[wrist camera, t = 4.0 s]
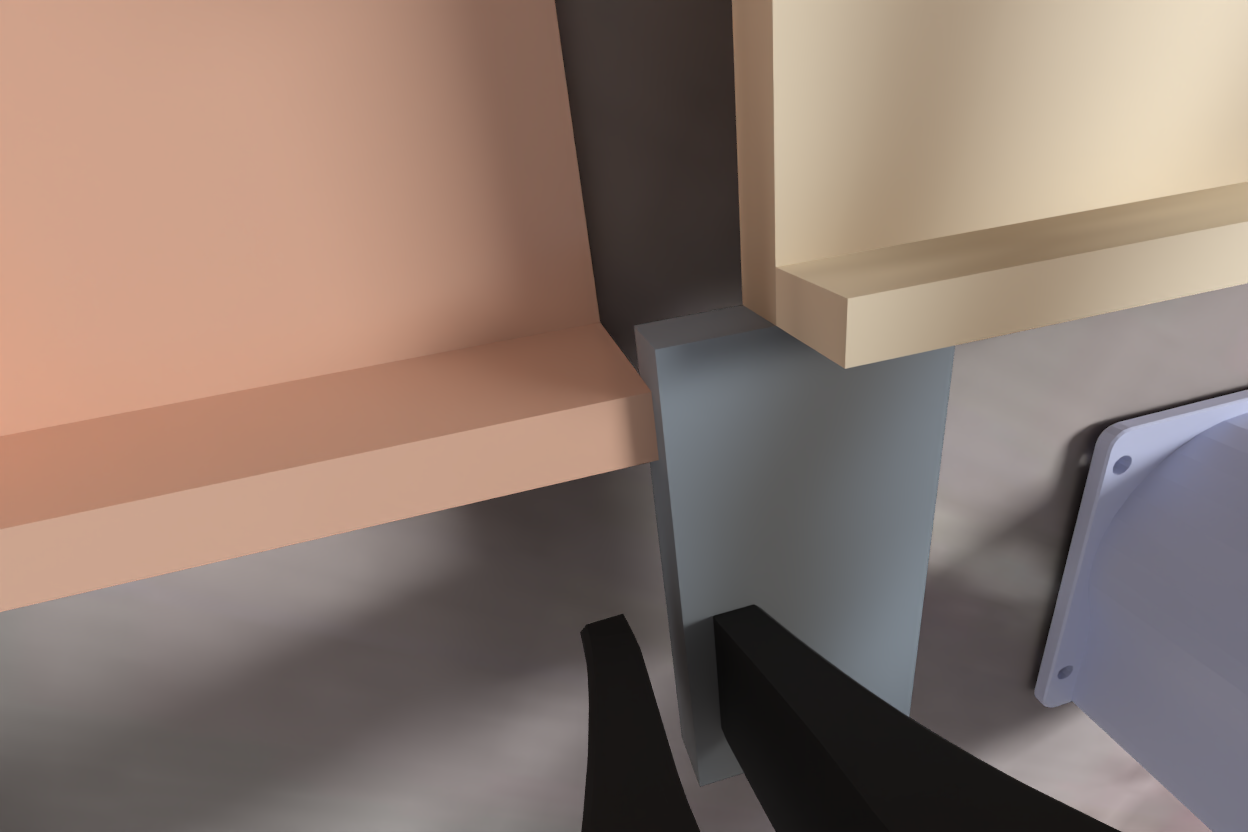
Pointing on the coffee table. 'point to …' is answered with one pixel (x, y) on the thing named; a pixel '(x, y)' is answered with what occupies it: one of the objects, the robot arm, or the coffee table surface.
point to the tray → (286, 279)
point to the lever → (914, 286)
